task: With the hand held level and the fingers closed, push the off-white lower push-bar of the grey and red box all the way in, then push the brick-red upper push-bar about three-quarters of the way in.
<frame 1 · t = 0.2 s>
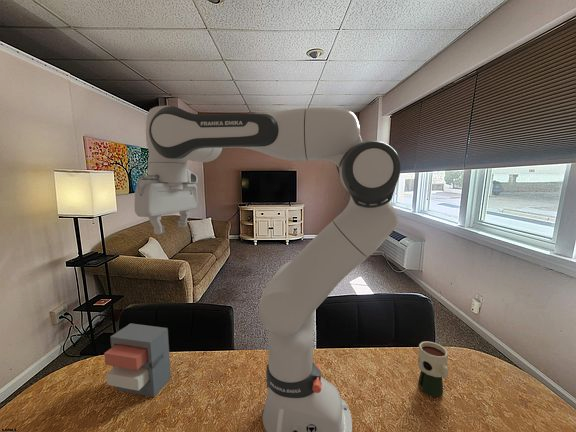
hand: (171, 230, 64), 48 cm above the table, tool pointing down, fingers open, 8 cm apart
red button: (126, 356, 68), point 13 cm above the table, slide at 0.0 cm
pale button: (128, 376, 69), point 7 cm above the table, slide at 0.0 cm
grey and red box: (143, 383, 75), on the table
character mug: (429, 391, 72), on the table
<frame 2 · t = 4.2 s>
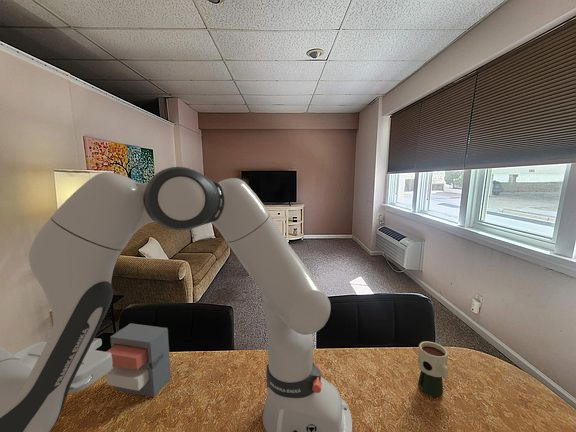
hand: (96, 340, 60), 22 cm above the table, tool horizontal, fingers closed
nothing on the table moved.
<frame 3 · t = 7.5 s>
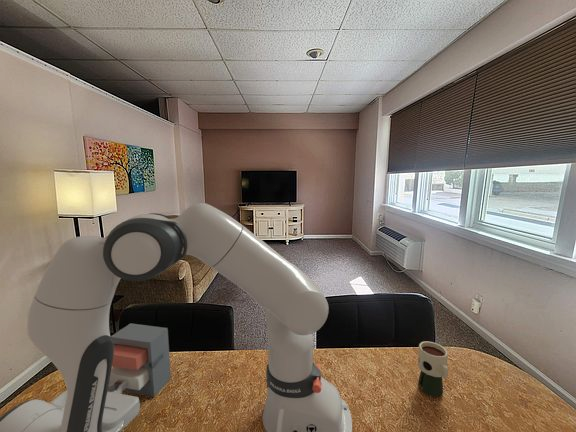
hand: (123, 382, 67), 6 cm above the table, tool horizontal, fingers closed, pressing on pale button
pale button: (128, 376, 69), point 7 cm above the table, slide at 0.2 cm, touching gripper
everything else where it was.
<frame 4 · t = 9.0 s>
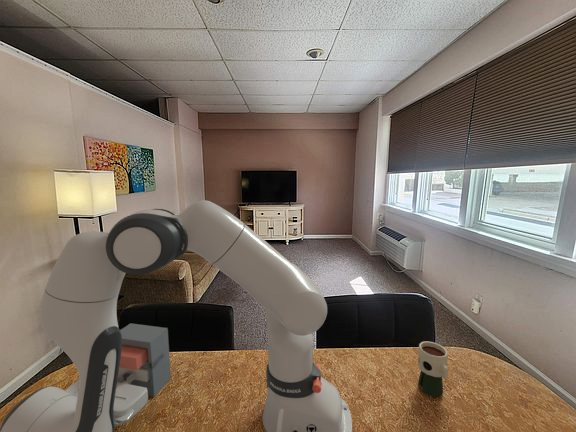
hand: (131, 374, 70), 6 cm above the table, tool horizontal, fingers closed
pale button: (137, 368, 72), point 7 cm above the table, slide at 3.1 cm
everything else where it was.
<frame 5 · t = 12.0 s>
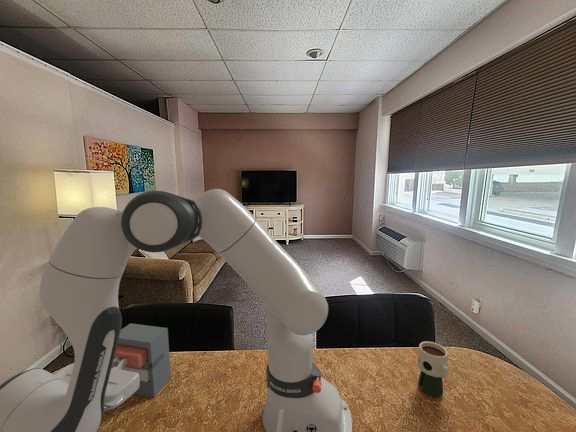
hand: (123, 360, 67), 12 cm above the table, tool horizontal, fingers closed, pressing on red button
red button: (128, 354, 69), point 13 cm above the table, slide at 0.8 cm, touching gripper
everything else where it was.
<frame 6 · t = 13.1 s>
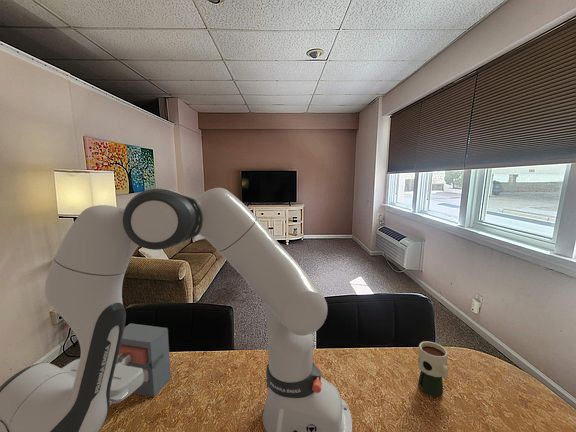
hand: (126, 356, 68), 12 cm above the table, tool horizontal, fingers closed
red button: (133, 351, 70), point 13 cm above the table, slide at 2.2 cm
everything else where it was.
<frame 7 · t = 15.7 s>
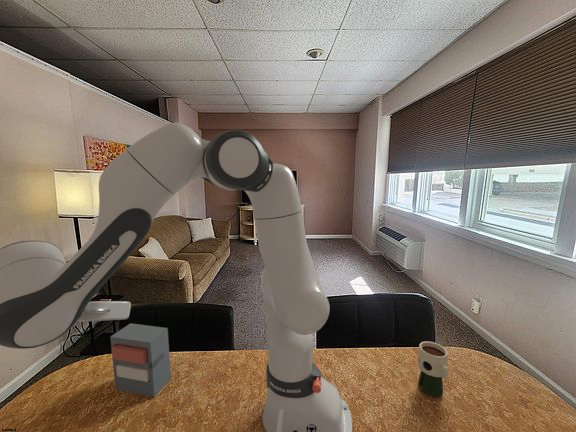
hand: (120, 311, 61), 28 cm above the table, tool tilted 65°, fingers closed
nothing on the table moved.
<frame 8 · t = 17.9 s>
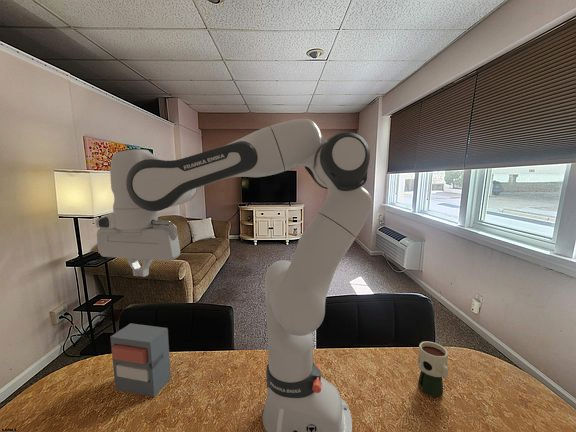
hand: (141, 275, 61), 37 cm above the table, tool pointing down, fingers closed
nothing on the table moved.
at the end: pale button slide at 3.1 cm; red button slide at 2.2 cm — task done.
